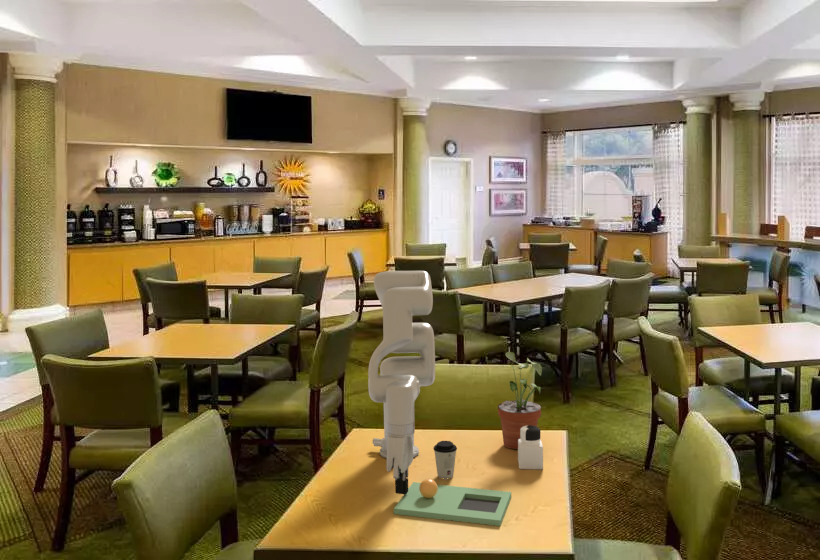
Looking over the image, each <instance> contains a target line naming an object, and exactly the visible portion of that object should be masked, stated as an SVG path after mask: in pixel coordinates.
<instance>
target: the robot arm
mask: <svg viewBox="0 0 820 560" xmlns="http://www.w3.org/2000/svg"><path fill="white" fill-rule="evenodd" d="M373 287H374V290H375V293H376V296H377V298H378V300H379V302H380V305H381V307H382V323H383V324H382V326H383V328H382V330H383V333H382V334H383V337H382V338H383V339H382V341H381V342H380V344H379V345H378V346H377V347H376V348H375V350H373V353H372V355H371V356H370V360H369V364H368V372H367V373H368V374H367V375H368V386H367V387H368V395H369V398H370V399H371V400H372V401H373V402H374V403H383V427H384V429H383V431H384V434H383V435H384V437H382V438H377V437H376V438H375V437H373V438H372V444H373V446H374V447H380V449H379V454H380V456H381V457H382V458H385V459H386V471H387V472H388V473H389V472H391V471H392V470H393V472H392V473H393V475H392V476H393V477H392V478H393V479H394V482H395V484H394V489H395V490H394V492H395V494H399V495H404V494H407V492H408V488H409V478H408V477H409V467H410V466H411V464H412V463H413V461H414V458H416V457H417V456H418V455H419V453H420V449H419V447H418V446H416V445H415V435H414V434H415V432H416V431H415V430H416V429H415V402H416V400H417V398H418V396H419V395H420V392H421V387H429V386H431V385H433V384H434V382H435V379H436V352H435V351H436V347H435V346H436V345H435V333H434V329H433V326H432V325H431V324H429V323H428V322H413V316H428V315H429V314H431V313H432V310H433V303H434V299H433V298H434V297H433V288H432V280H431V275H430V274H429V273H428V271H425V270H387V271H381V272H378V273H376V274H375V276H374V278H373ZM392 353H393V354H410V353H411V354H412V353H413V354H414V353H415V354H417V353H418V354H419V355H420V356H419V355H417V356H416V355H415V356H408V355H407V356H391V357H387V358H385V357H386V356H387V355H389V354H392ZM384 358H385V359H384ZM379 366H380V367H379ZM379 373H380V374H379Z"/></svg>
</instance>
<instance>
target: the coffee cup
mask: <svg viewBox="0 0 820 560" xmlns="http://www.w3.org/2000/svg"><path fill="white" fill-rule="evenodd" d="M457 450H458V447H457V445H456V444H454V442H452V441H450V440H441V441H439V442H437V443H436V444H435V445H434V446H433V452H434V456H435V457H434V458H435V466H436V473H437V478H438V477H440V478H444V479H443V480H448V479H447V478H451V479H453V478H454V472H455V464H456V463H455V462H456V455H457ZM452 477H453V478H452ZM440 478H439V479H440Z"/></svg>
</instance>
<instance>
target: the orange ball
mask: <svg viewBox="0 0 820 560" xmlns="http://www.w3.org/2000/svg"><path fill="white" fill-rule="evenodd" d="M420 483H421V484H420V486H419V491H420V493H421V495H422V496H423V497H425V498H432V497H434V496H435V495H436V493H437V491H438V486H437V485H438V484H437V481H435V480H434V479H431V478H426V479H423V480H422V481H421V482H420Z"/></svg>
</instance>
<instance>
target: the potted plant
mask: <svg viewBox="0 0 820 560" xmlns="http://www.w3.org/2000/svg"><path fill="white" fill-rule="evenodd" d="M505 357H506V358H507V359H509V361H510V360H511V361H512V363H511V367H512V369H513V375H514V381H515V382H514V381H512V380H510V381H509V387H510V390H511V391H512V392H514V393H515V400H505V401H503V402H501V403H499V404H498V406H497V415H498V416H499V417H500V426H501V432H502V433H501V434H502V440H503V442H502V443H503V446H504V447H506V448H508V449H514V450H518V439H520V429H521V428H522V427H524V426H527V425H532V426H536V427H538V422H539V419H540V417H541V416H542V407H541V405H540V404H539V403H536V402H532V401H528V400H529V398H530V396H532V394H534V392H535V391H536V390H537V392H539V393H538V394H539V395H540V394H541V391H542V387H541V386H537V385H536V384H535V383H533V382H531V383H530V385H532V388H531V386H530V385H529V384H528V379H529V377H530V374H531V371H532V369H535V371H536V372H537V373H538V375H539V376H542V371H543V367H542V364H541V363H538V362H533V361H531V360H530V359H529V358H528V357H526V362H525V363H518V361H517V359H516V354H515V352H513V351H506V352H505ZM513 362H514V363H516V364H517V365H519V367H516V369H519V370H520V371H519V376H520V380H519V382H520V387H519V388H518V384H517V377H516V372H515V367H514V365H513ZM529 363H530V364H531V367H530V370H529V373H528V376H527V378H526V379H525V378H522V375H521V374H522V373H521V370H522V369H528V368H529ZM522 387H523V388H522ZM527 387H528V388H529V390H530V392H529V393H528V395H527V396H526V398H525V399H523V398H524V394H525V392H526V390H527Z"/></svg>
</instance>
